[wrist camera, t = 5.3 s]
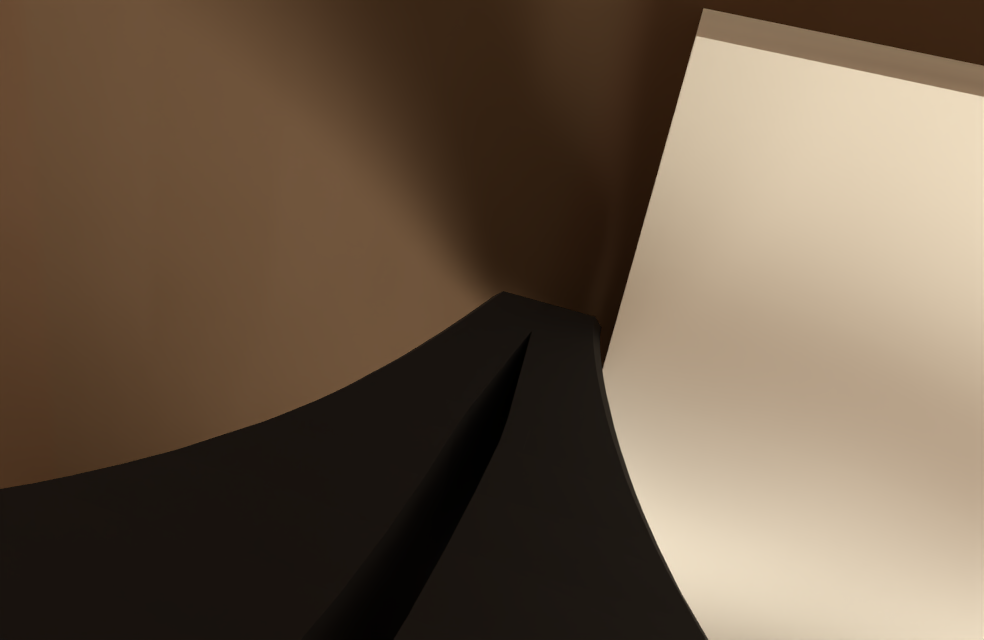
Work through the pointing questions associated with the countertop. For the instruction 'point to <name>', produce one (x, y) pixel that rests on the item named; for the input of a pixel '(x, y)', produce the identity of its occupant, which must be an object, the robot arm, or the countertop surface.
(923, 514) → the cream block
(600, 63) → the countertop surface
